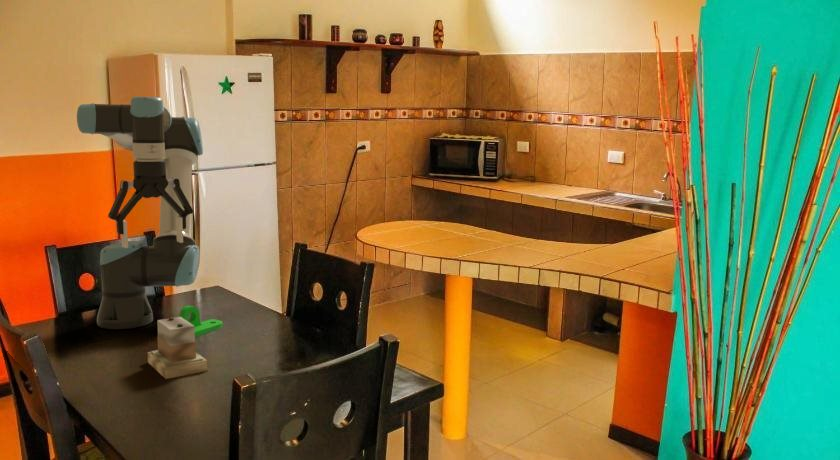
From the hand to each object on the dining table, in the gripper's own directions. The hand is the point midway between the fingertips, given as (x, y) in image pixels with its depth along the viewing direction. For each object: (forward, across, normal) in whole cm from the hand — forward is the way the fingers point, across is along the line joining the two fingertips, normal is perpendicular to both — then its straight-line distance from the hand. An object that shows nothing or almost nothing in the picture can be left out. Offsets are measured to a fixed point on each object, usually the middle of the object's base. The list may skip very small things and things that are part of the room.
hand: (153, 244), depth 187 cm
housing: (+25, +1, -13) cm, 28 cm away
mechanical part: (+29, +17, +12) cm, 36 cm away
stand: (+28, +1, -13) cm, 31 cm away
